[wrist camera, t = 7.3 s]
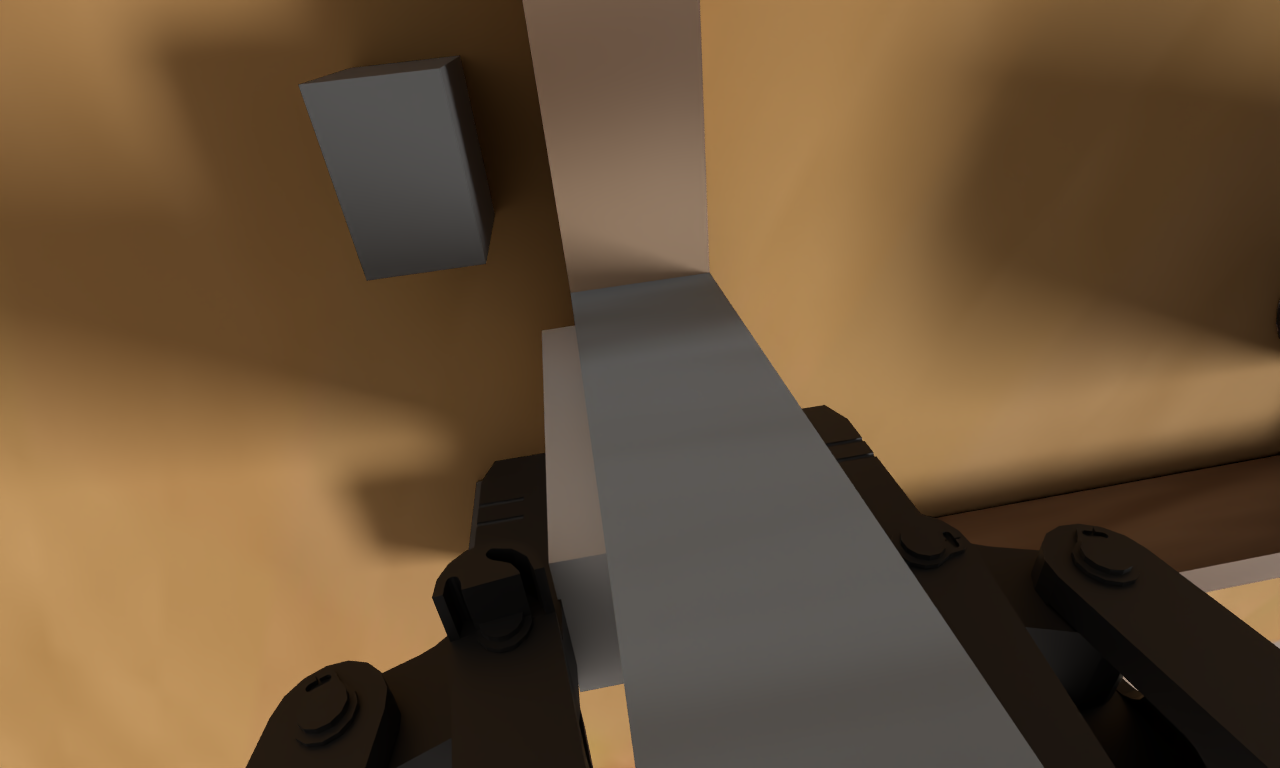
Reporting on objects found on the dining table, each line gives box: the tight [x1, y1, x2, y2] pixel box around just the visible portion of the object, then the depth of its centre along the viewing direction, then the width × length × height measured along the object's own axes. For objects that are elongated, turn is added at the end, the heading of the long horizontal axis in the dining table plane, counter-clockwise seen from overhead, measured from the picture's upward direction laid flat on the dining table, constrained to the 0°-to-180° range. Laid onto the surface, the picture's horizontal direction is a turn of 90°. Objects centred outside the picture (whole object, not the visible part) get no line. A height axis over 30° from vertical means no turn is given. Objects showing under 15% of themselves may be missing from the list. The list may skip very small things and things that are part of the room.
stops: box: [299, 56, 495, 549], centre depth 14 cm, size 13×2×3 cm, turn 6°
